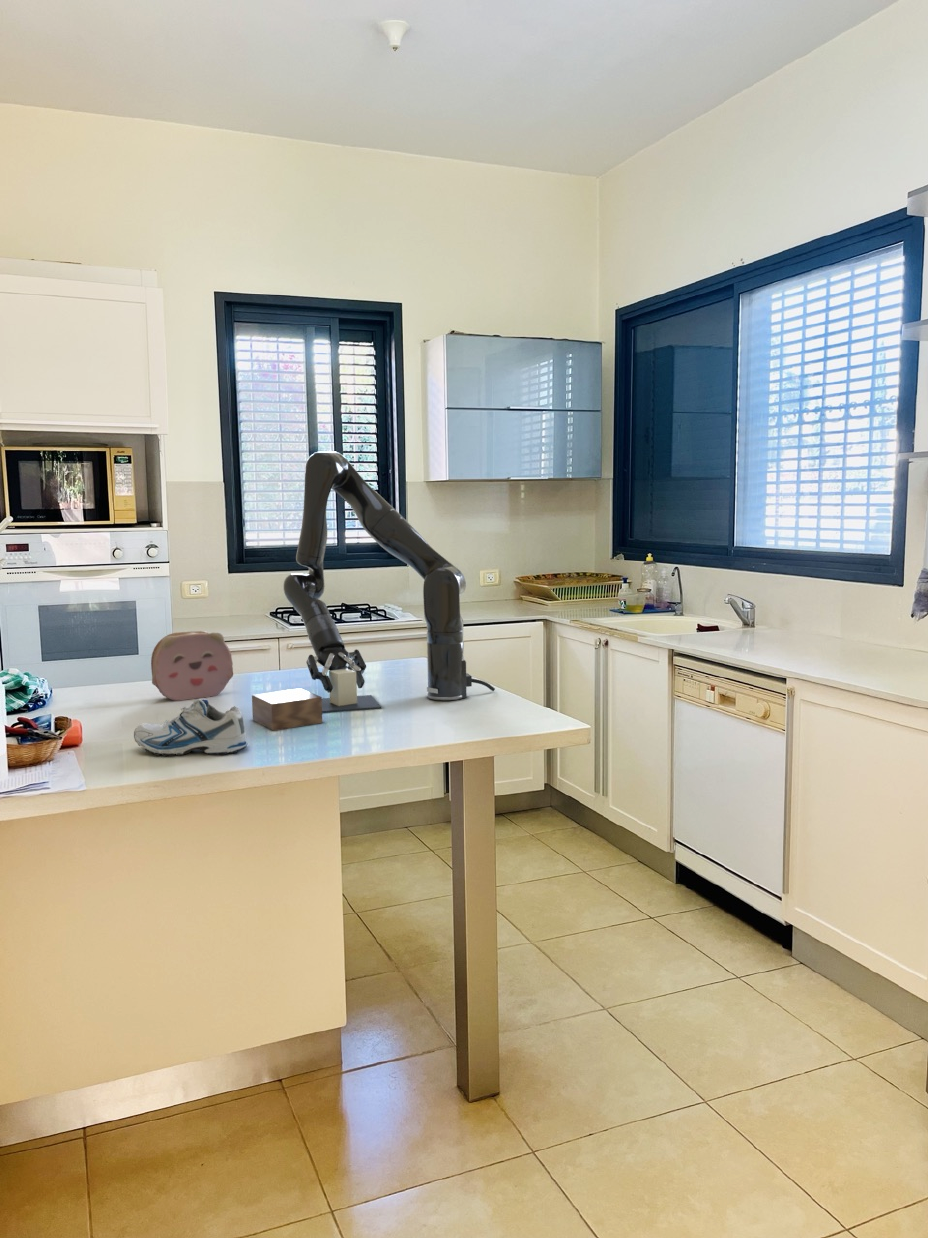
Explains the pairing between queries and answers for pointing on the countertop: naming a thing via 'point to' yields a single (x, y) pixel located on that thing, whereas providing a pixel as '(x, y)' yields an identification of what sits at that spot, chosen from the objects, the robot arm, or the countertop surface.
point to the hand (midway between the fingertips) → (346, 688)
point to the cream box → (343, 687)
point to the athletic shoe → (195, 732)
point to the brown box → (287, 709)
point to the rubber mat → (351, 705)
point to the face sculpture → (191, 665)
